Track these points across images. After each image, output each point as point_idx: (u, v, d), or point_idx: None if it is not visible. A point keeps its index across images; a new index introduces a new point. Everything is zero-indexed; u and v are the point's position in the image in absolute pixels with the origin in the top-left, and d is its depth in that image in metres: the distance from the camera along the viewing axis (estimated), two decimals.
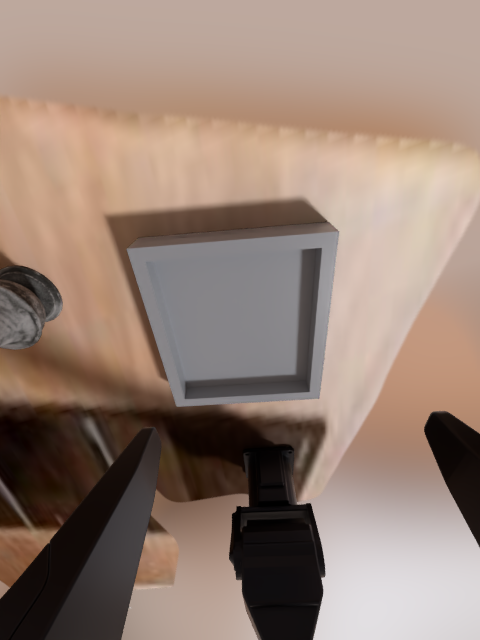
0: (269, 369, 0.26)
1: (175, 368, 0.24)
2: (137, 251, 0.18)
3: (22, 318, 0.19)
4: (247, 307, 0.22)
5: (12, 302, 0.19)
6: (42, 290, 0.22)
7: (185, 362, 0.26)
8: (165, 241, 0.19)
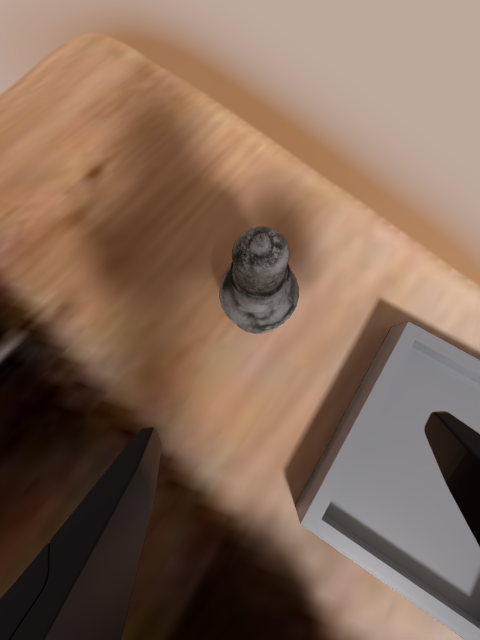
0: (438, 558, 0.18)
1: (350, 463, 0.18)
2: (415, 328, 0.20)
3: (285, 304, 0.19)
4: None
5: (291, 289, 0.20)
6: None
7: None
8: None
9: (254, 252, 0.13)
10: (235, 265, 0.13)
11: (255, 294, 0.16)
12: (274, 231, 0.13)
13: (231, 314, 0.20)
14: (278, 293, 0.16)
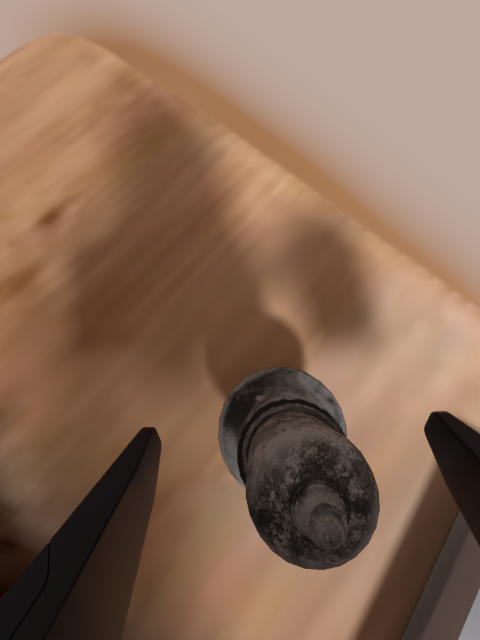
0: None
1: None
2: None
3: None
4: None
5: None
6: None
7: None
8: None
9: (305, 533, 0.05)
10: (253, 522, 0.06)
11: None
12: (347, 455, 0.06)
13: (237, 472, 0.12)
14: None
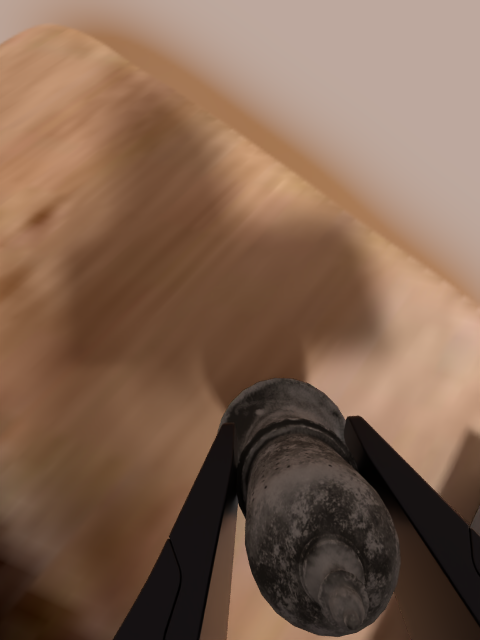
0: None
1: None
2: None
3: None
4: None
5: None
6: None
7: None
8: None
9: (315, 599, 0.04)
10: None
11: None
12: (362, 501, 0.05)
13: None
14: None
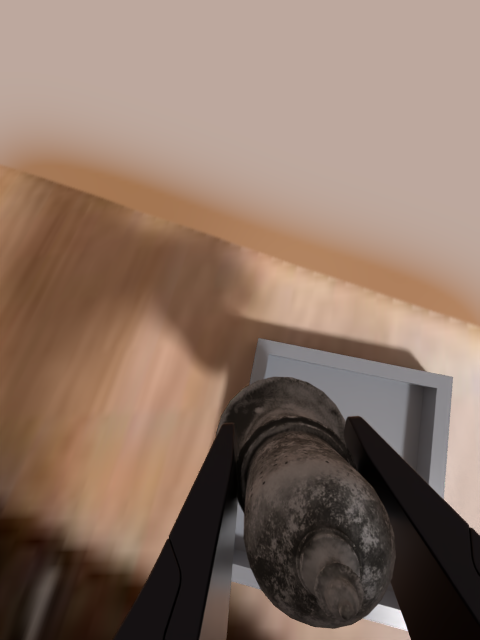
0: None
1: None
2: (266, 342, 0.20)
3: None
4: None
5: None
6: None
7: None
8: None
9: (311, 591, 0.04)
10: None
11: None
12: (359, 496, 0.05)
13: None
14: None
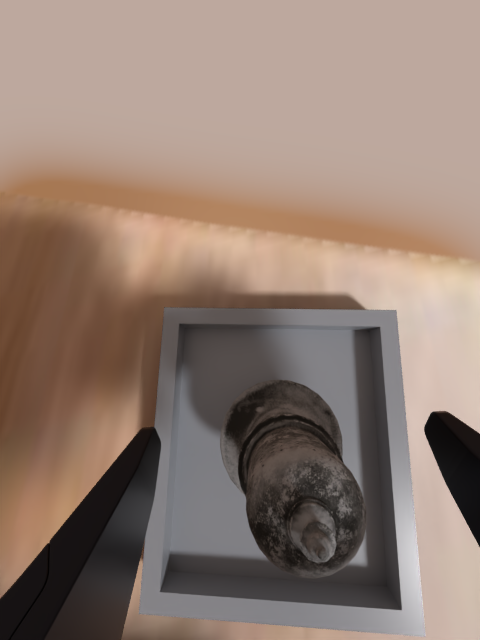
0: None
1: (166, 503, 0.15)
2: (174, 311, 0.17)
3: None
4: None
5: None
6: None
7: (181, 505, 0.16)
8: None
9: (298, 547, 0.06)
10: (252, 534, 0.06)
11: None
12: (337, 476, 0.06)
13: (237, 479, 0.13)
14: None
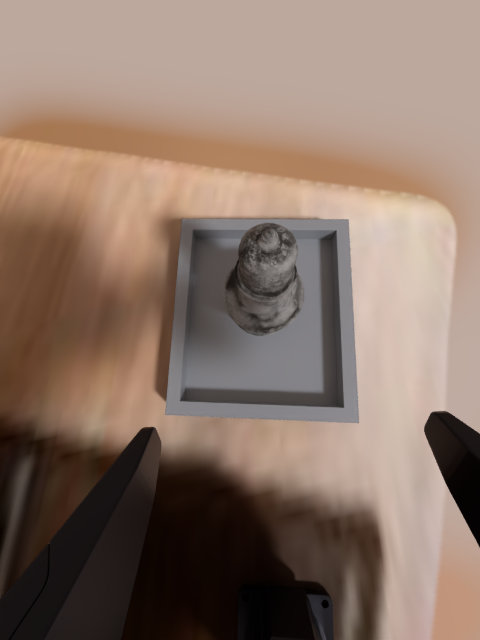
0: (290, 380, 0.22)
1: (183, 346, 0.21)
2: (189, 221, 0.23)
3: (290, 306, 0.19)
4: None
5: (297, 291, 0.19)
6: None
7: (193, 357, 0.22)
8: None
9: (262, 249, 0.12)
10: (241, 262, 0.13)
11: (261, 294, 0.15)
12: (283, 228, 0.13)
13: (234, 315, 0.19)
14: (284, 294, 0.15)
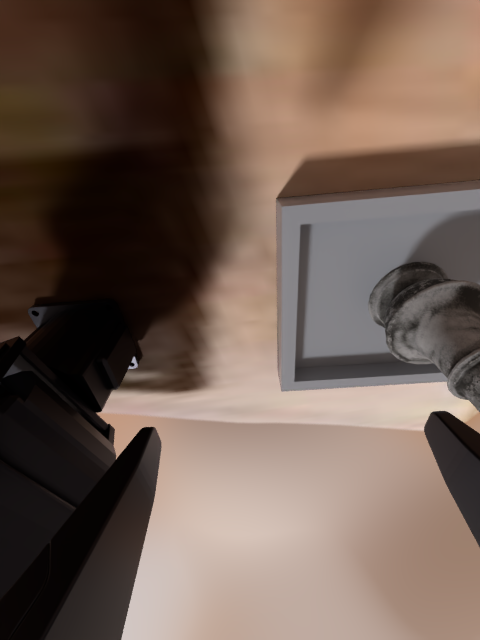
0: (316, 331, 0.20)
1: (377, 217, 0.14)
2: None
3: (414, 356, 0.17)
4: None
5: (429, 359, 0.17)
6: None
7: (352, 221, 0.16)
8: None
9: None
10: None
11: (463, 375, 0.12)
12: None
13: (419, 299, 0.15)
14: (453, 392, 0.13)
